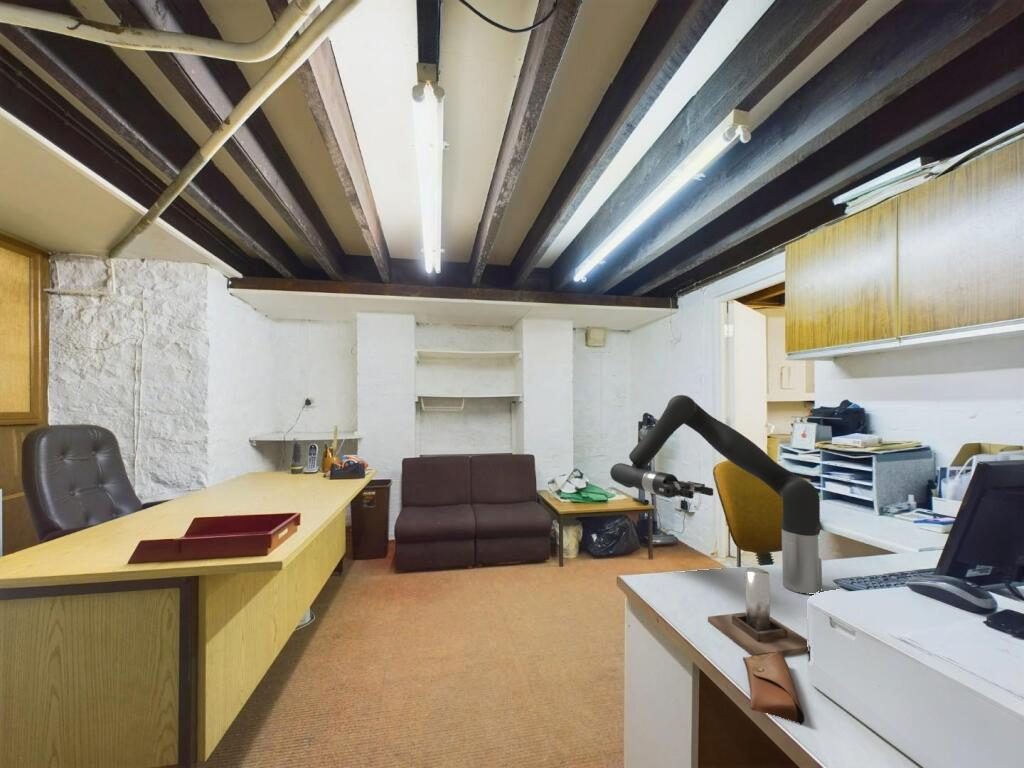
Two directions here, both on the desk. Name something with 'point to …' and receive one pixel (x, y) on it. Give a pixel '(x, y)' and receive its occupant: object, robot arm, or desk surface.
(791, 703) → the sunglasses case
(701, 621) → the desk surface
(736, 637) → the lamp base
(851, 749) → the desk surface
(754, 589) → the column
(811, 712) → the desk surface
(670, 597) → the desk surface
